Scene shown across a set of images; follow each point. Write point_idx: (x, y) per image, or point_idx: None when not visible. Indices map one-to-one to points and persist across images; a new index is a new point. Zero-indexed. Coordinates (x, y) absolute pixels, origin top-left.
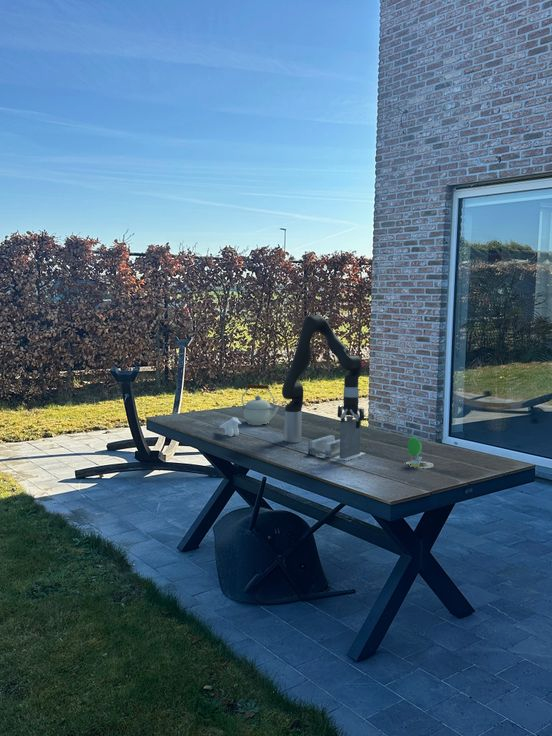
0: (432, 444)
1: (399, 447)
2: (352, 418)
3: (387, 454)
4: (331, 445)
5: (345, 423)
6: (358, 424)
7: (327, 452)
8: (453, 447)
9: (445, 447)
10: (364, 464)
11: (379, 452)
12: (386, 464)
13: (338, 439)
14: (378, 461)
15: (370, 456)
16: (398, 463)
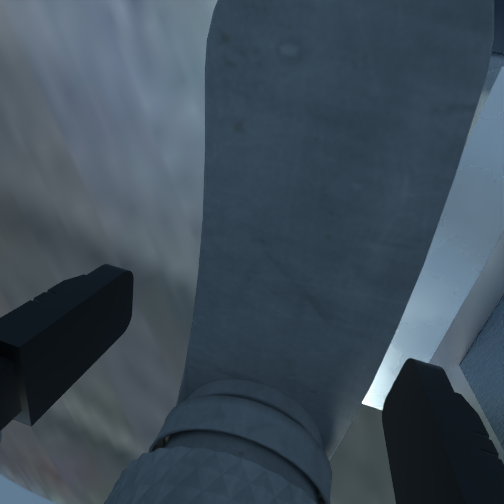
0: (71, 499)
1: (144, 449)
2: (117, 486)
3: (132, 327)
4: (481, 94)
5: (236, 69)
6: (36, 303)
7: (494, 55)
8: (5, 473)
9: (21, 470)
10: (136, 32)
11: (180, 353)
12: (37, 114)
13: (439, 335)
14: (103, 164)
15: (187, 259)
16: (7, 171)
